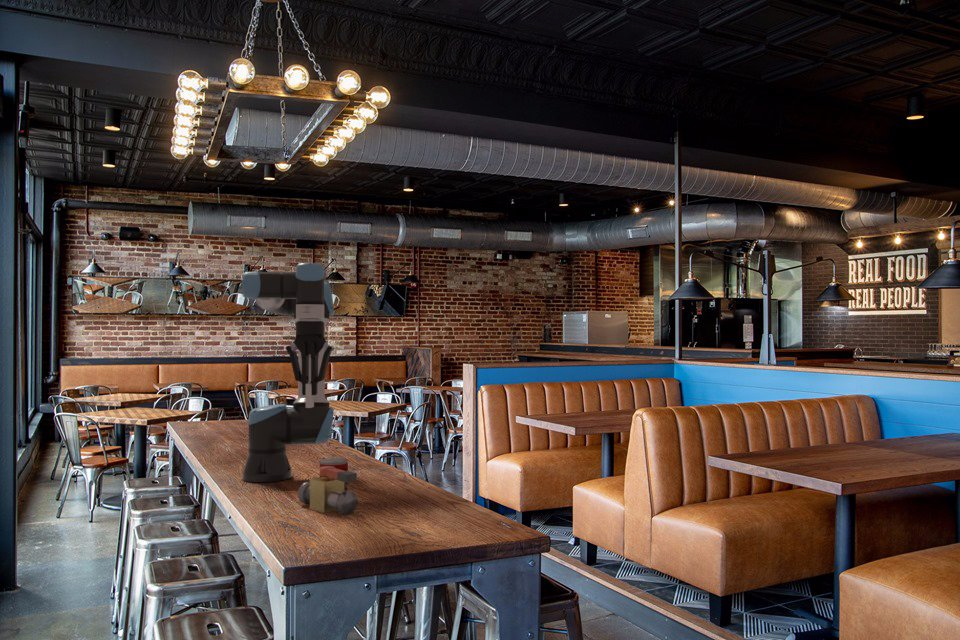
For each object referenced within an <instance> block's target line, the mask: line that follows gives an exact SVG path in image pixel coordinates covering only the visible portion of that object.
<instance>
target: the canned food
mask: <svg viewBox="0 0 960 640" xmlns="http://www.w3.org/2000/svg"><path fill="white" fill-rule="evenodd" d="M323 466H334V467H335V468H336V469H340V470H344V471H349V462H348V459H346V458H339V457H329V458H324V459H323V458H322V459H320V460H319V468H320V467H323ZM319 477H323V476H320V475H319ZM348 483H349V482H348ZM348 483H345V482H344V491H349V489H348V487H349V486H348V485H349V484H348Z"/></svg>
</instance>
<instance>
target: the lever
mask: <svg viewBox="0 0 960 640" xmlns="http://www.w3.org/2000/svg"><path fill="white" fill-rule="evenodd" d="M320 476H327V477H331V478H334V479H337V480H339V481H342V482H345V483H354V482H357V473H356V472H353V471H349V470H348V471H344V470H340V469H336V468H335V467H334V466H323V467H320V466H319V477H320Z"/></svg>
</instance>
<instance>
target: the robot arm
mask: <svg viewBox="0 0 960 640" xmlns="http://www.w3.org/2000/svg"><path fill="white" fill-rule="evenodd" d="M295 270H296V271H294V272H291V271H290V272H287V271H286V272H285V271H284V272H277V271H276V272H275V271H274V272H273V271H271V272H270V271H257V270H256V271H245V272H244V273H243V274H242V282H241V283H242V284H241V288H242V296H243V297H244V298H245V299H252V300H255V302H256V304H257V306H259V308H261V309H262V310H264V311H266V312H269V313H272V314H276V315H279V316H293V322H295V338H294V340H293V342H292V343H291V344H290V345H287V346H286V347H285V349H286V351H287V353H288V355H289V358H290V362H291V368H292V372H293V375H294V376H293V377H294V380H295V381H296V382H297V398H296V400H294V401H293V405H292V408H287V404H285V403H279V404H277V403H276V404H269V405H264V406H259V407H255V408H252V409H251V410H250V411H249V413H248V423H247V425H248V454H247V458H246V462H245V464H244V467H243V471H242V480H243V481H245V482H249V483H272V482H281V481H285V480H289V479H290V478H292V468H291V465H290V462H289V459H288V455H287V446H291V445H293V446H295V445H318V444H326V443H328V442H329V441H330V439H331V436H332V435H331V434H332V429H333V428H332V427H333V419H334V413H335V408H334V407H332V406H330V401H329V400H328V399H327V398H326V397H325V395H326V392H325V391H326V388H325V386H326V385H325V384H326V383H325V382H326V381H325V380H326V378H325V377H326V374H327V370H328V365H329V362H330V357H331V354H332V353H333V351H334V349H335V346H333V345H330V344H329V343H327V340H326V337H325V336H326V335H325V334H326V329H325V328H326V325H327V324H328V323H330V317H332V316H334V315H335V313H334V311H335V309H334V300H333V294H332V288H331V287H332V286H331V285H330V283H329V282H328V281H325V277H326V275H325V266H324V264H322V263H318V262H317V263H315V262H314V263H313V262H303V263H301V262H300V263H298V264H297V265H296V269H295ZM297 349H298V354H297Z"/></svg>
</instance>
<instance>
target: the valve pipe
mask: <svg viewBox="0 0 960 640" xmlns="http://www.w3.org/2000/svg"><path fill="white" fill-rule="evenodd" d="M297 498H298V500H299V502H300V503H301V504H304V505H309V510H312V511H315V512H319V513H322V514H327V513H331V512H336V511H337V512H338V513H339V514H342V515H344V516H349V515H351V514H353V513H354V512H355V511H356V509H357V507H358V504H359V501H358V500H359V498H358V495H357V494H356V493H355V492H354V491H353V490H352V491H351V490H348V491H344V482H342V481H339V480H337V479H334V478H331V477H327V476H323V477H320V476H319V477H315V478H314V477H312V478H310V479H309V481H305V482H303V483H302V484H301V485H300V486H299V488H298V490H297Z"/></svg>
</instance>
